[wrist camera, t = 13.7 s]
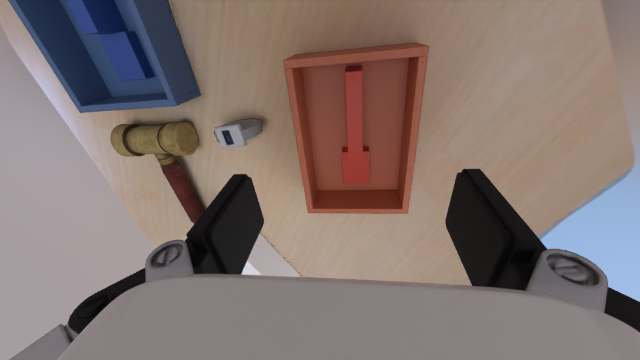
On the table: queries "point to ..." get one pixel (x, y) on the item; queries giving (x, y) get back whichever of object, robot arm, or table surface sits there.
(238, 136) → the wristwatch
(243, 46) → the table surface
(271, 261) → the triangle block
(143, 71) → the blue block-headed bar
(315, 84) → the terracotta bin
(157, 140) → the gavel
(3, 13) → the table surface
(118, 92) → the blue bin
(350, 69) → the red wooden stick
